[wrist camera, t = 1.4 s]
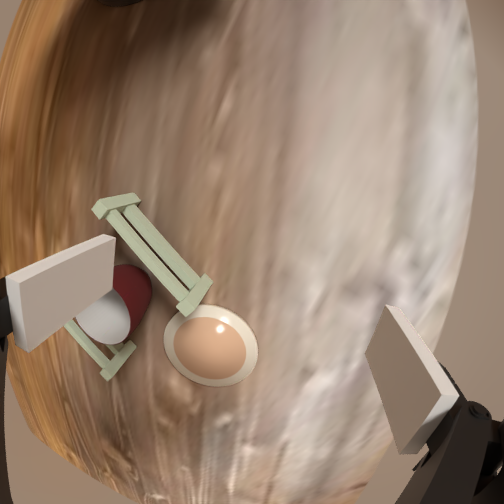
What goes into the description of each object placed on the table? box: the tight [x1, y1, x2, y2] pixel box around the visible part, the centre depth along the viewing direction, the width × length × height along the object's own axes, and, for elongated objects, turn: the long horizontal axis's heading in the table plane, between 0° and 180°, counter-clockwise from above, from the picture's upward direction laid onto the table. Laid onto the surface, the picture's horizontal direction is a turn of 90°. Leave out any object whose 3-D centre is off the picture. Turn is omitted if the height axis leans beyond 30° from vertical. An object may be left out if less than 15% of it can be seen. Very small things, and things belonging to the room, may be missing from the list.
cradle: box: [64, 193, 213, 381], centre depth 36 cm, size 15×18×8 cm
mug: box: [75, 264, 152, 345], centre depth 35 cm, size 10×8×10 cm
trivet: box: [164, 304, 258, 387], centre depth 40 cm, size 13×13×1 cm
